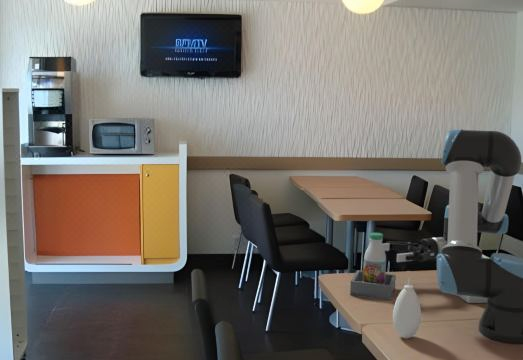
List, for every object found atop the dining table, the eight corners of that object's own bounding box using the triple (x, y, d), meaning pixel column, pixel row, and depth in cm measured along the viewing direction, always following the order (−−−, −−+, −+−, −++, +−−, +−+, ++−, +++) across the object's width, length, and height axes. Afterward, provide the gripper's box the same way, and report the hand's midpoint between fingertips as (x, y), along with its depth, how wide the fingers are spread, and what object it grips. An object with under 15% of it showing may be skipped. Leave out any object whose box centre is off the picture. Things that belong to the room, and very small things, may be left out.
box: (391, 300, 201) (391, 286, 200) (350, 295, 205) (350, 281, 205) (394, 288, 214) (395, 274, 214) (356, 283, 218) (357, 270, 218)
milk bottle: (362, 284, 214) (364, 230, 211) (383, 286, 213) (386, 231, 210) (362, 291, 206) (365, 235, 204) (385, 293, 205) (388, 236, 203)
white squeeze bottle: (390, 330, 175) (393, 272, 172) (417, 332, 174) (421, 273, 172) (393, 341, 167) (397, 280, 165) (421, 343, 166) (425, 282, 164)
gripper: (455, 267, 208) (407, 273, 199) (410, 249, 230) (364, 254, 222) (457, 246, 207) (408, 251, 198) (411, 230, 229) (365, 234, 221)
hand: (385, 253), depth 210 cm, fingers open, 13 cm apart
